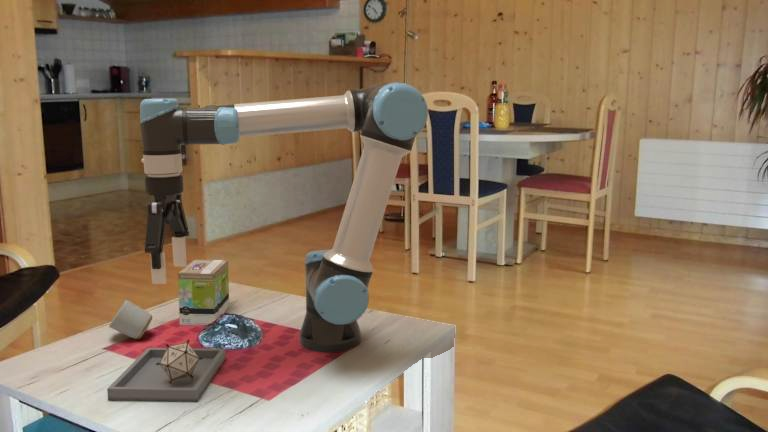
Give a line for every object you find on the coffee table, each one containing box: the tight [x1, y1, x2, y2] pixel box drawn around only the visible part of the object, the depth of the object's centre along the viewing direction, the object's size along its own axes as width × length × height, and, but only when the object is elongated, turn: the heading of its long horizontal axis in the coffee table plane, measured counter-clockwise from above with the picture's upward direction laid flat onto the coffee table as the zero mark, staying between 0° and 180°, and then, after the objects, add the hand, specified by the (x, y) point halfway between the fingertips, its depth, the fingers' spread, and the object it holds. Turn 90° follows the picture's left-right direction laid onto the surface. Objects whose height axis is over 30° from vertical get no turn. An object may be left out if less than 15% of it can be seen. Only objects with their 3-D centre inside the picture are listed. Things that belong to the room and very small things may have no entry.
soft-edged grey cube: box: [108, 299, 153, 340], centre depth 173 cm, size 11×8×8 cm
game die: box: [156, 338, 203, 383], centre depth 146 cm, size 9×8×10 cm
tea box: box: [177, 259, 230, 326], centre depth 187 cm, size 15×10×15 cm
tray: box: [106, 347, 226, 403], centre depth 148 cm, size 18×22×2 cm
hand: (170, 274), depth 146 cm, fingers open, 13 cm apart
